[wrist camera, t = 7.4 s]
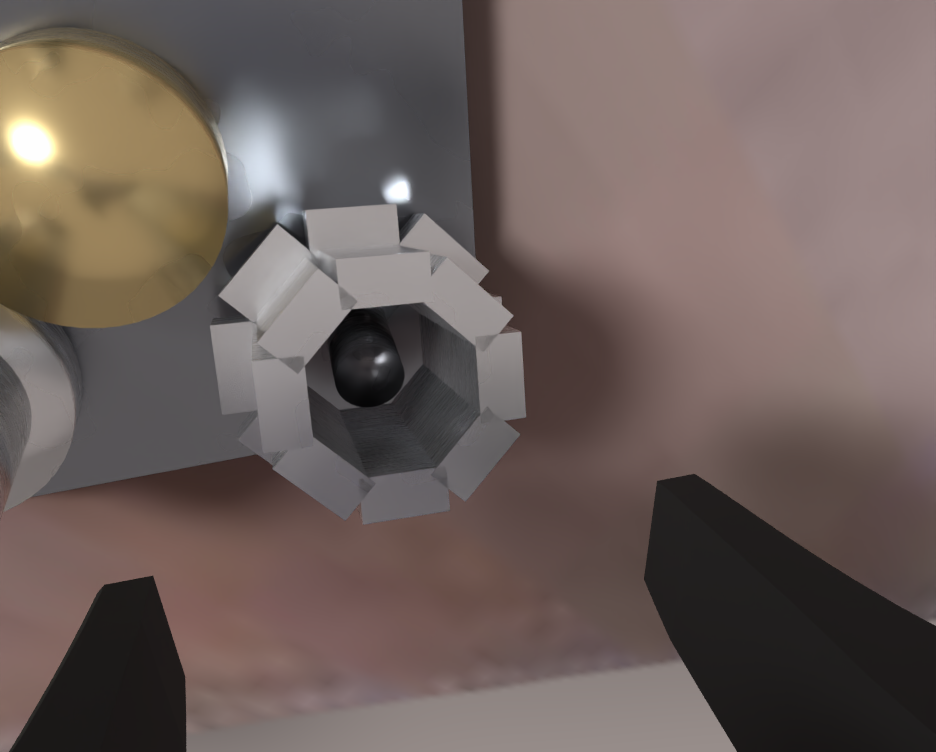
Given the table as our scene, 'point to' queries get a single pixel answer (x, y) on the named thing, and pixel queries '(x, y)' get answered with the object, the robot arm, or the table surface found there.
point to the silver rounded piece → (34, 404)
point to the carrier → (211, 192)
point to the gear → (419, 402)
